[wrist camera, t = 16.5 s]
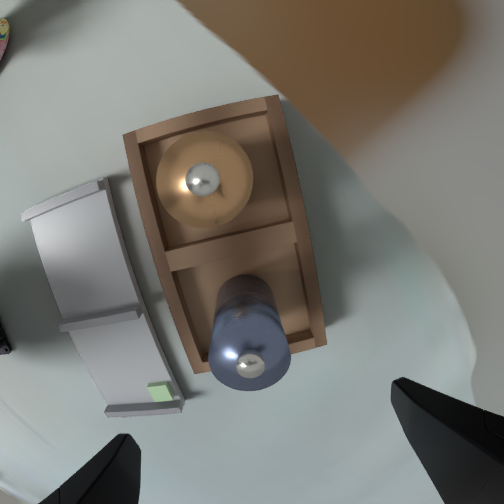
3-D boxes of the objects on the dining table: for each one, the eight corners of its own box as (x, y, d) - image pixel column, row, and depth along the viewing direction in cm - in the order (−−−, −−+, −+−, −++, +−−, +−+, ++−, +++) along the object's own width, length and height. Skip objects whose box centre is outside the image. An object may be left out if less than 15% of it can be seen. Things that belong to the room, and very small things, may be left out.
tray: (198, 357, 21) (195, 376, 18) (135, 137, 17) (122, 131, 15) (318, 330, 21) (327, 346, 18) (272, 102, 17) (277, 91, 15)
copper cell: (192, 217, 17) (166, 241, 10) (178, 159, 16) (142, 145, 10) (252, 202, 17) (264, 216, 10) (238, 143, 16) (241, 118, 10)
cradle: (114, 405, 22) (108, 418, 20) (33, 208, 17) (19, 210, 16) (185, 400, 22) (182, 414, 20) (107, 177, 17) (96, 177, 16)
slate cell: (225, 331, 19) (222, 404, 12) (209, 282, 18) (195, 342, 11) (278, 318, 19) (299, 387, 12) (266, 268, 18) (283, 321, 11)
